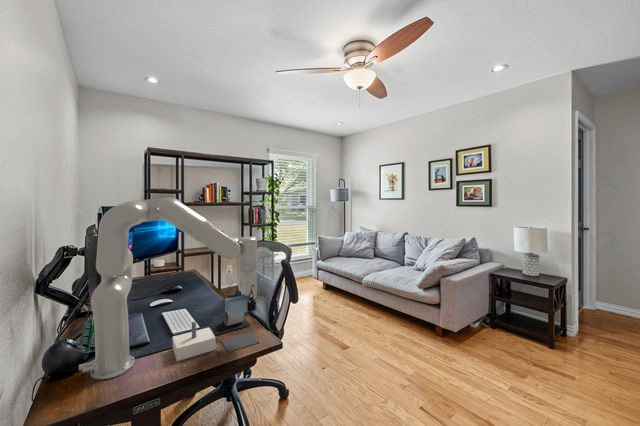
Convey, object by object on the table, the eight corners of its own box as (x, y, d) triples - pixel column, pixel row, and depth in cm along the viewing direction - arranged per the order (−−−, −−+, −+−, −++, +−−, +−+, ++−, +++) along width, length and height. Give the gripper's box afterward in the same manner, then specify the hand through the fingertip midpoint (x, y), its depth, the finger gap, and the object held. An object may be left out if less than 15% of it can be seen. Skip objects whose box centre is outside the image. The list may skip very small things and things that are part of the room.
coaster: (228, 352, 109) (228, 351, 109) (221, 341, 117) (221, 340, 117) (259, 342, 117) (259, 341, 117) (250, 332, 125) (250, 331, 125)
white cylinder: (245, 324, 133) (245, 308, 132) (228, 328, 128) (228, 312, 127) (237, 316, 141) (237, 301, 141) (221, 320, 136) (221, 305, 136)
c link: (230, 316, 110) (229, 304, 110) (225, 310, 115) (225, 299, 115) (256, 309, 117) (256, 298, 116) (250, 304, 122) (250, 293, 121)
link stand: (176, 361, 103) (176, 332, 102) (172, 348, 111) (172, 322, 110) (215, 349, 111) (215, 323, 110) (209, 338, 119) (209, 313, 118)
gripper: (232, 263, 121) (232, 303, 123) (247, 272, 107) (247, 317, 109) (248, 260, 125) (249, 299, 127) (265, 269, 112) (265, 313, 113)
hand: (248, 307), depth 118 cm, fingers closed on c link, 6 cm apart
